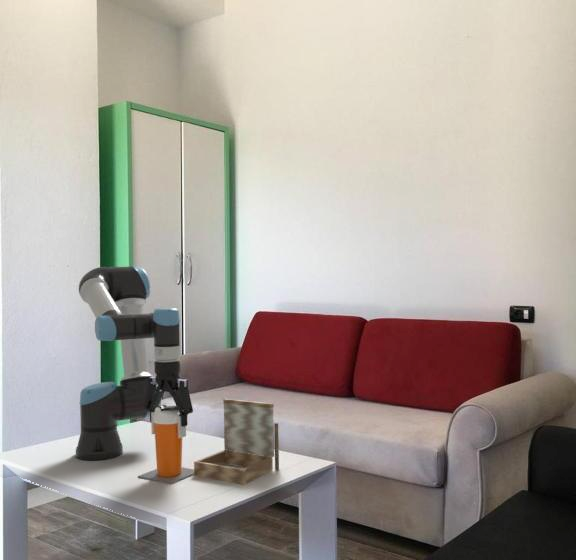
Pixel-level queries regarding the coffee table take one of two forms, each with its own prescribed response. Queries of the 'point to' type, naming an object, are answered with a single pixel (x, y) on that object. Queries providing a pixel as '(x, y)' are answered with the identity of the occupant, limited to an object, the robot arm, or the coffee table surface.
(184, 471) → the slate coaster
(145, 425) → the coffee table surface
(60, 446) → the coffee table surface
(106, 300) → the robot arm
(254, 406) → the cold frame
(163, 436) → the shaker bottle
